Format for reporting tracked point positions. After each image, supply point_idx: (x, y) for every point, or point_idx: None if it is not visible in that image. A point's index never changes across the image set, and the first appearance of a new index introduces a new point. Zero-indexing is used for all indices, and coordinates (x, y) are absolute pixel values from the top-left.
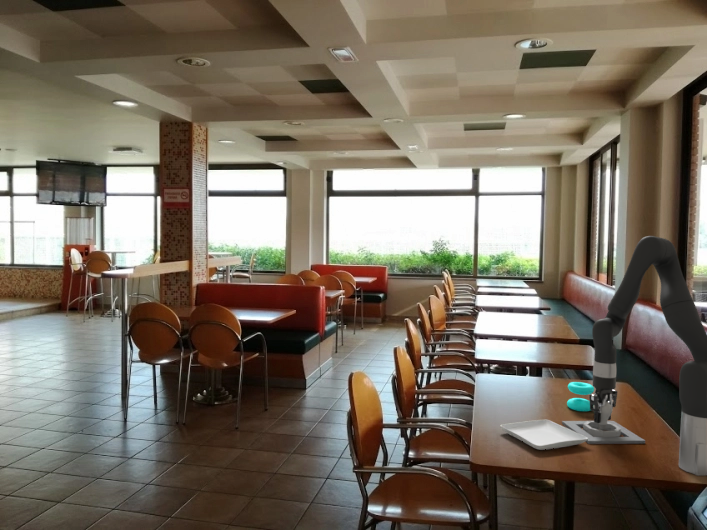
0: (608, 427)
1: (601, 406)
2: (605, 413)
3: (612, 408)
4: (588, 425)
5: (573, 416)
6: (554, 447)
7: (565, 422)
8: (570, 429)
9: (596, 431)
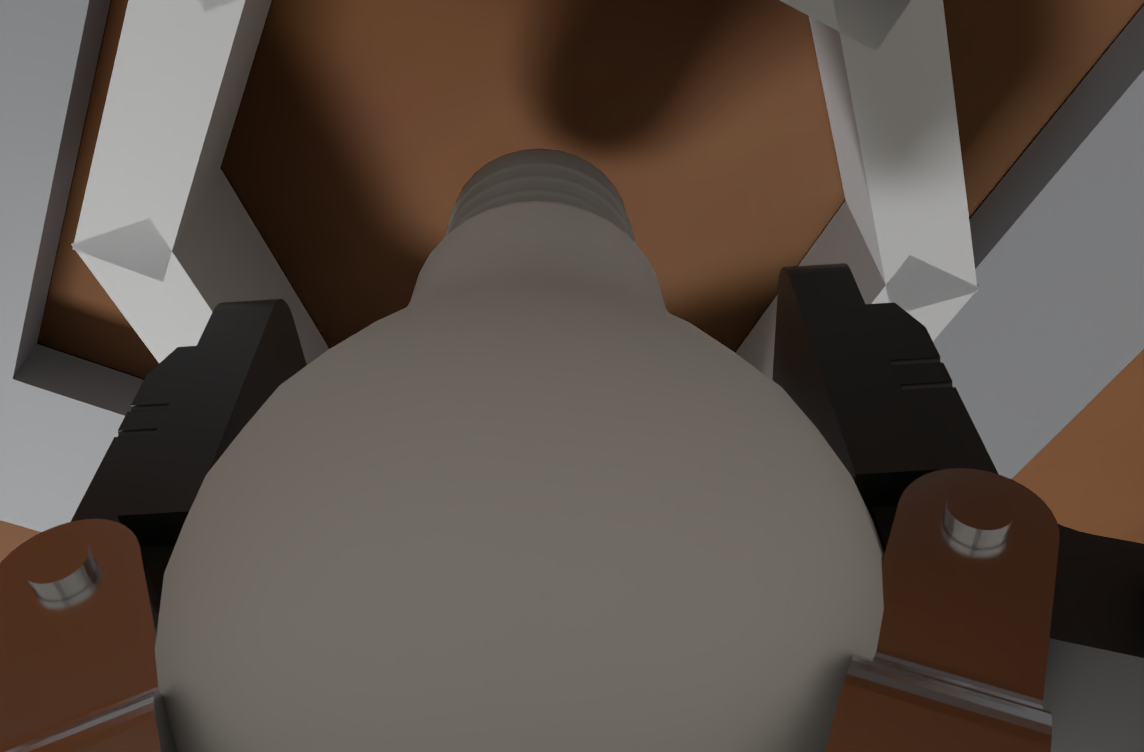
0: (231, 251)
1: (1010, 700)
2: (752, 376)
3: (40, 550)
4: None
5: None
6: None
7: None
8: None
9: (950, 131)
